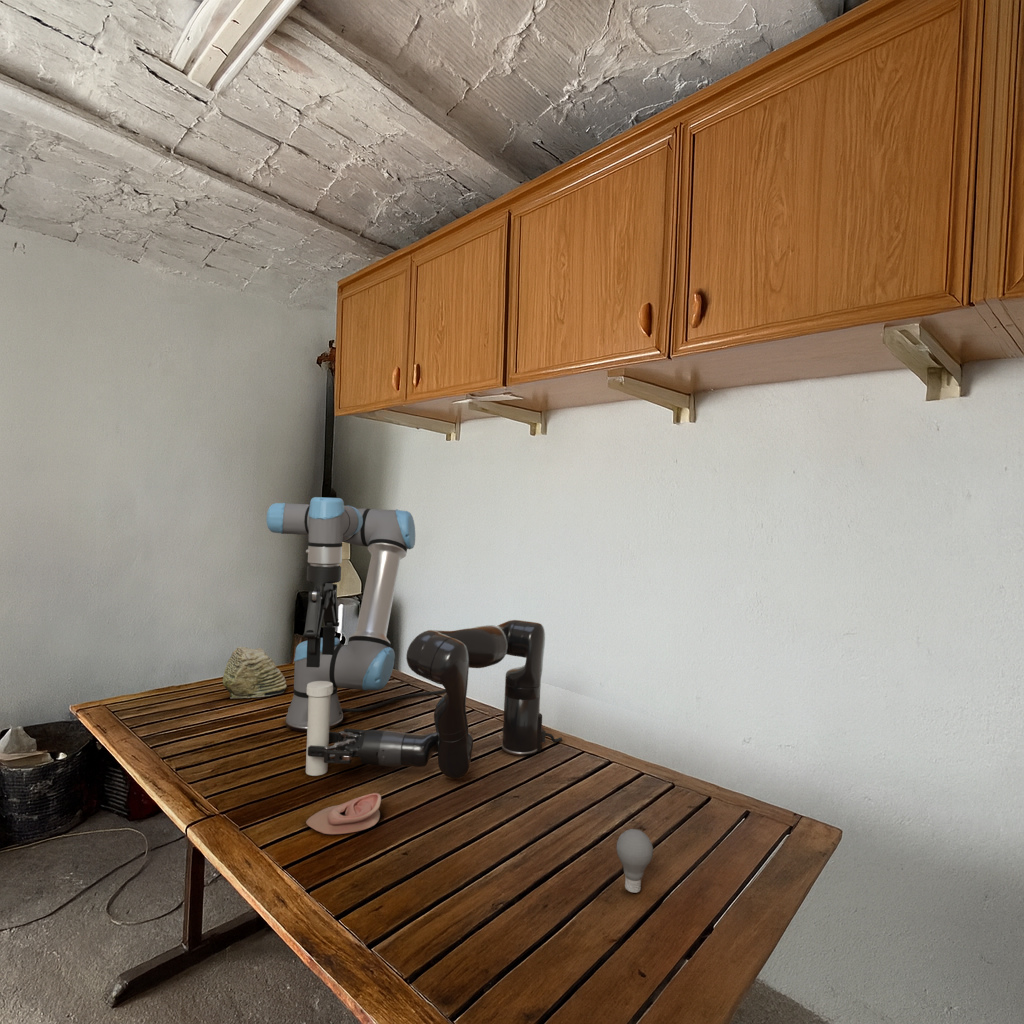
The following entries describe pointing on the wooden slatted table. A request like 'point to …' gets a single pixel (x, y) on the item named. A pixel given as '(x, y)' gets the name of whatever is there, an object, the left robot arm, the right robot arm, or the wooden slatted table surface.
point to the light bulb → (634, 857)
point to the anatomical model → (347, 816)
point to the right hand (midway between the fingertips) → (315, 743)
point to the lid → (319, 688)
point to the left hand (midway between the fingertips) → (320, 660)
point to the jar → (317, 732)
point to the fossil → (252, 674)
